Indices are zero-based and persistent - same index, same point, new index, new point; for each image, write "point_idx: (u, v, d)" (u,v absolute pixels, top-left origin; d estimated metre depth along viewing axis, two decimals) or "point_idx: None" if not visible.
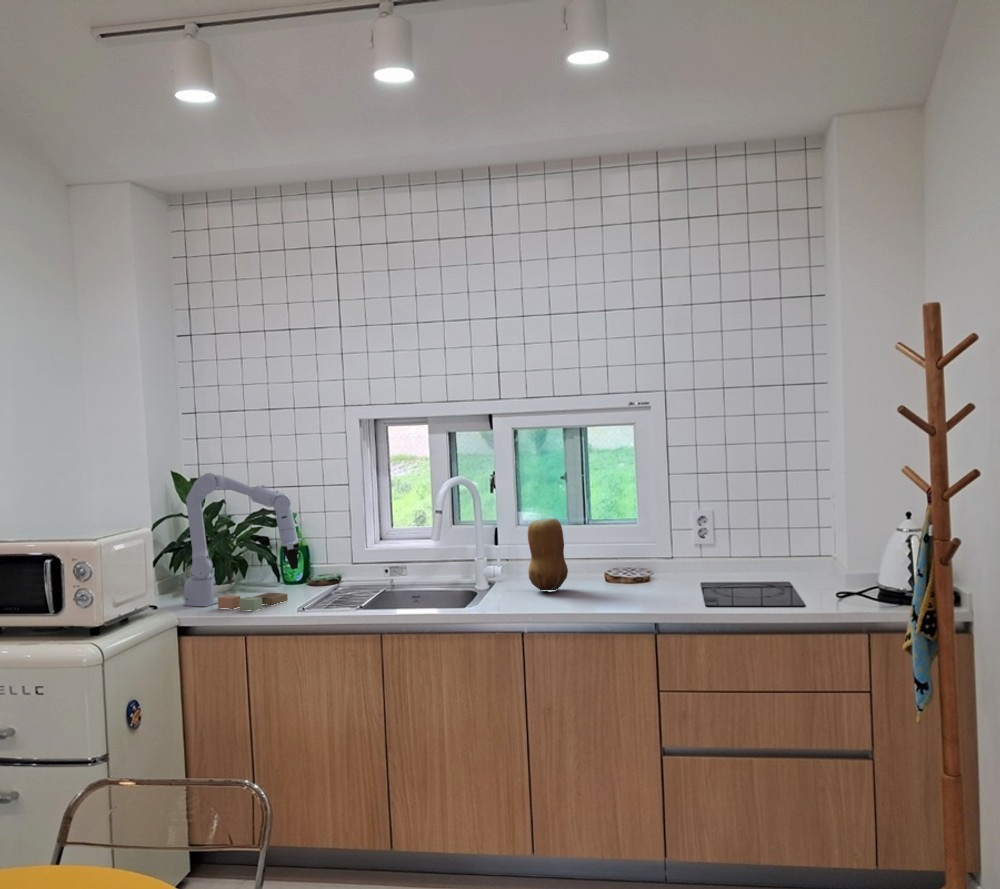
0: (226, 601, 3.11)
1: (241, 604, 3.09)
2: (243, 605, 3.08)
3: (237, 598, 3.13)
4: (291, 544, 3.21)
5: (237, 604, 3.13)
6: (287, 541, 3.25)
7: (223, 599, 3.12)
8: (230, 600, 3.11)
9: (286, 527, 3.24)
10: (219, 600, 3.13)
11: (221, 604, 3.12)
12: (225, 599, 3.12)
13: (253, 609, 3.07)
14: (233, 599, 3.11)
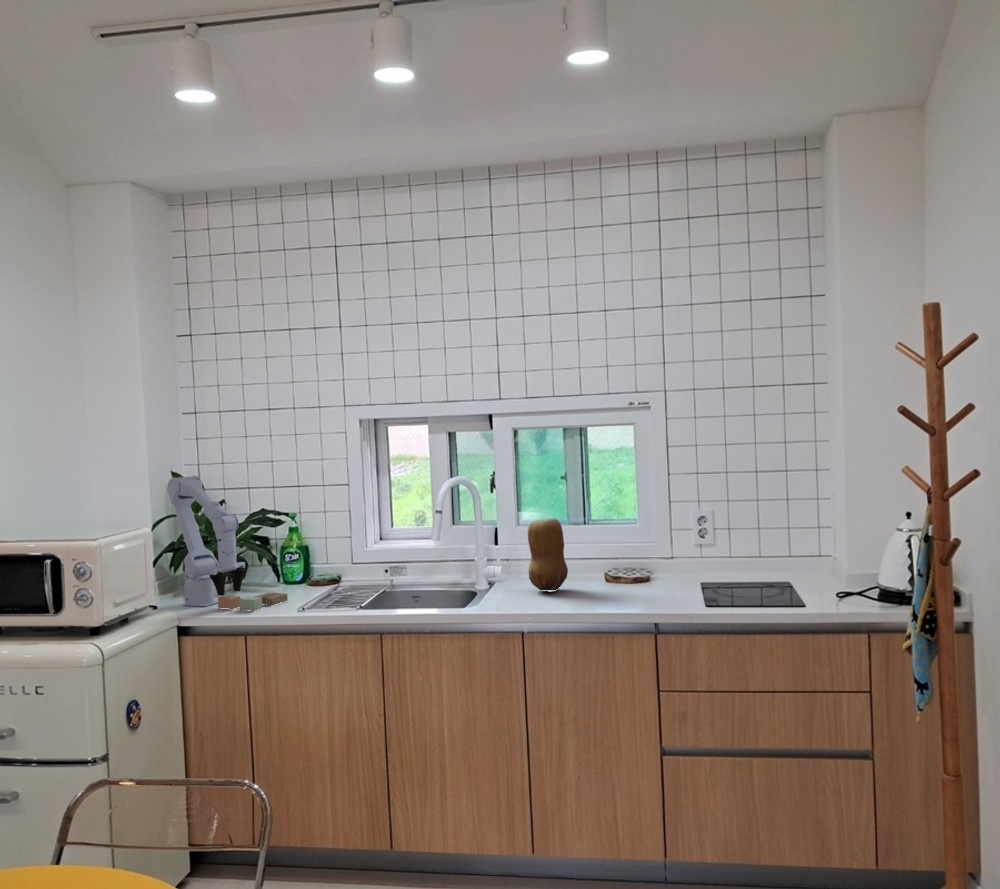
0: (226, 601, 3.11)
1: (241, 604, 3.09)
2: (243, 605, 3.08)
3: (237, 598, 3.13)
4: (213, 570, 3.06)
5: (237, 604, 3.13)
6: (220, 565, 3.11)
7: (223, 599, 3.12)
8: (230, 600, 3.11)
9: (219, 551, 3.11)
10: (219, 600, 3.13)
11: (221, 604, 3.12)
12: (225, 599, 3.12)
13: (253, 609, 3.07)
14: (233, 599, 3.11)
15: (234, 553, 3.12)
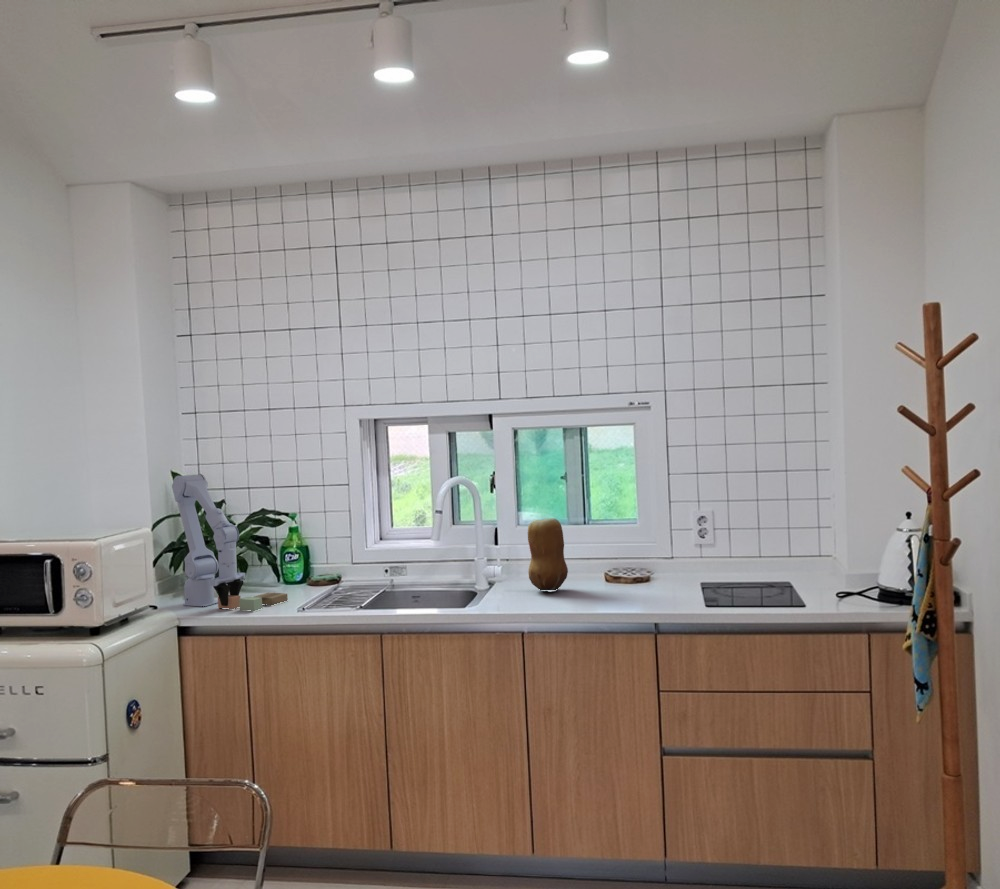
0: None
1: (241, 604, 3.09)
2: (243, 605, 3.08)
3: (237, 598, 3.13)
4: (214, 581, 3.06)
5: (237, 604, 3.13)
6: (220, 576, 3.11)
7: None
8: (230, 600, 3.11)
9: (220, 562, 3.11)
10: (219, 600, 3.13)
11: None
12: None
13: (253, 609, 3.07)
14: (233, 599, 3.11)
15: (234, 564, 3.12)
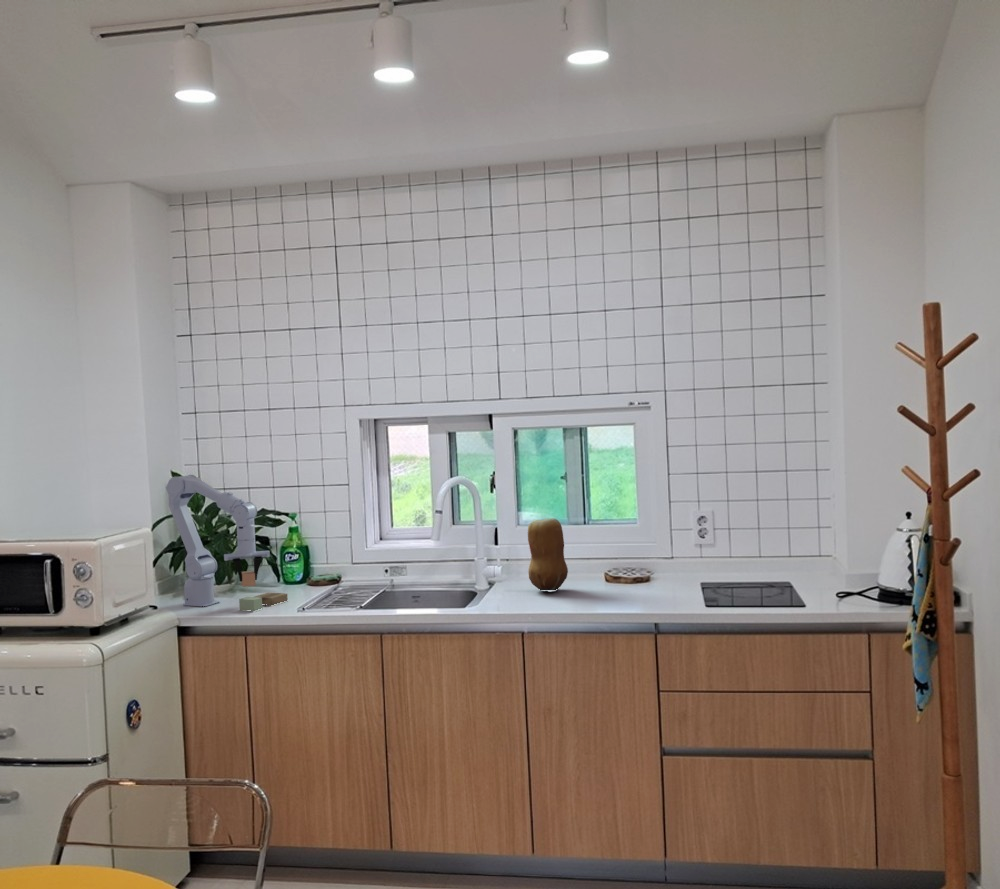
0: None
1: (241, 604, 3.09)
2: (243, 605, 3.08)
3: (250, 575, 3.14)
4: (224, 556, 3.13)
5: (250, 581, 3.14)
6: None
7: None
8: (242, 576, 3.14)
9: (241, 538, 3.13)
10: None
11: None
12: None
13: (253, 609, 3.07)
14: (244, 575, 3.13)
15: (248, 541, 3.14)
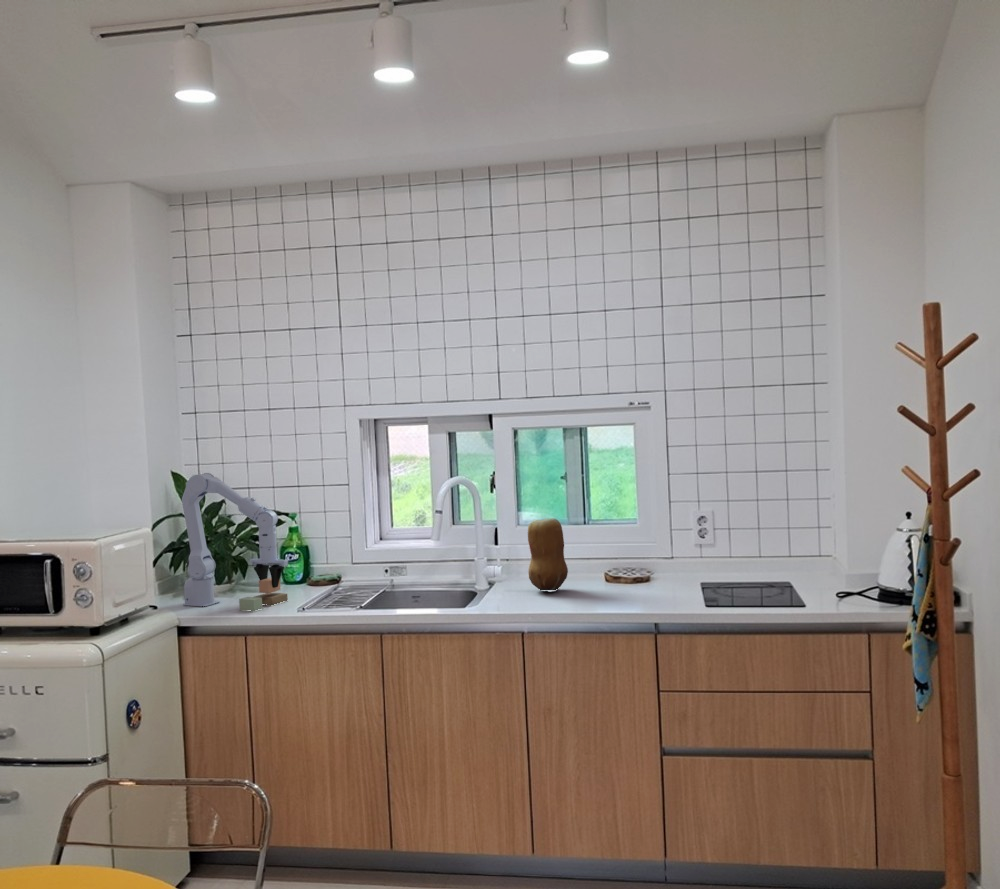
0: None
1: (241, 604, 3.09)
2: (242, 605, 3.08)
3: (265, 582, 3.17)
4: None
5: (264, 588, 3.18)
6: None
7: None
8: None
9: (265, 545, 3.17)
10: None
11: None
12: None
13: (253, 609, 3.07)
14: (260, 582, 3.18)
15: (263, 549, 3.17)
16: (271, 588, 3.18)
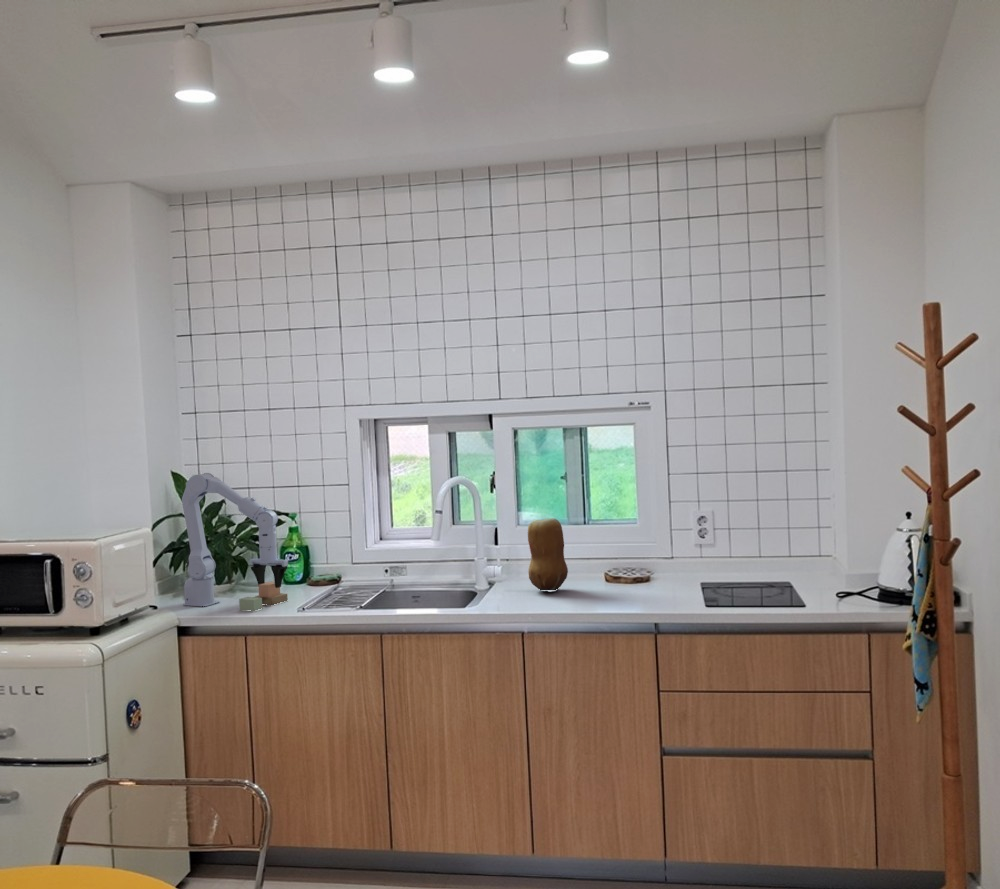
0: None
1: (241, 604, 3.09)
2: (242, 605, 3.08)
3: (264, 586, 3.18)
4: None
5: (264, 592, 3.18)
6: None
7: None
8: None
9: (265, 545, 3.17)
10: None
11: None
12: None
13: (253, 609, 3.07)
14: (260, 586, 3.18)
15: (263, 549, 3.17)
16: (271, 592, 3.18)
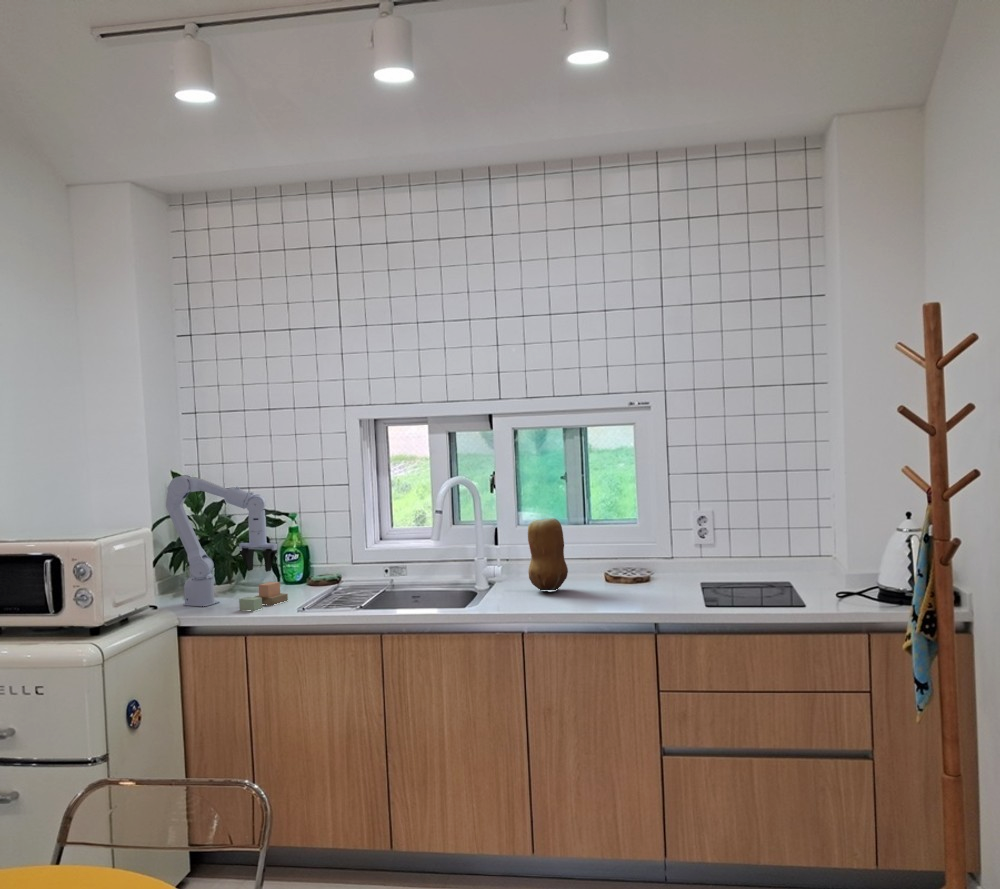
0: None
1: (241, 604, 3.09)
2: (242, 605, 3.08)
3: (264, 586, 3.18)
4: None
5: (264, 592, 3.18)
6: None
7: None
8: None
9: (256, 529, 3.21)
10: None
11: None
12: None
13: (253, 609, 3.07)
14: (260, 586, 3.18)
15: (253, 533, 3.21)
16: (271, 592, 3.18)
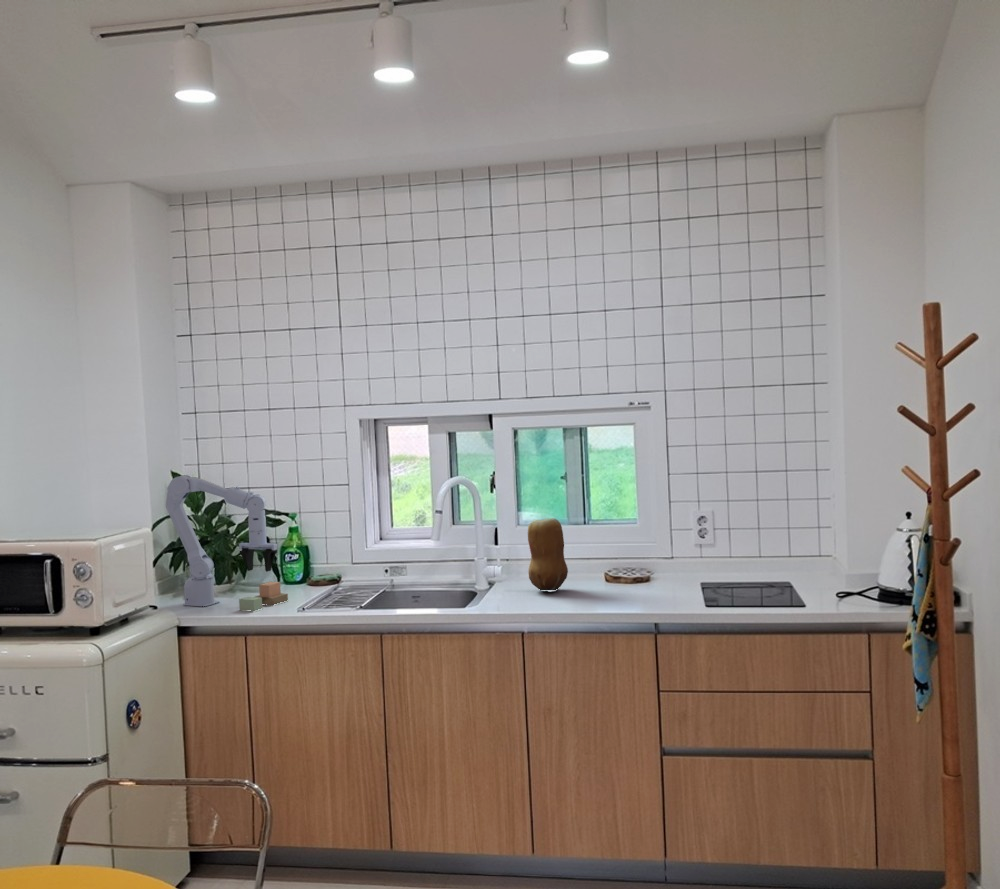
0: None
1: (241, 604, 3.09)
2: (242, 605, 3.08)
3: (265, 586, 3.17)
4: None
5: (265, 592, 3.17)
6: None
7: None
8: None
9: (256, 529, 3.21)
10: None
11: None
12: None
13: (253, 609, 3.07)
14: (260, 586, 3.18)
15: (253, 533, 3.21)
16: (271, 592, 3.18)
